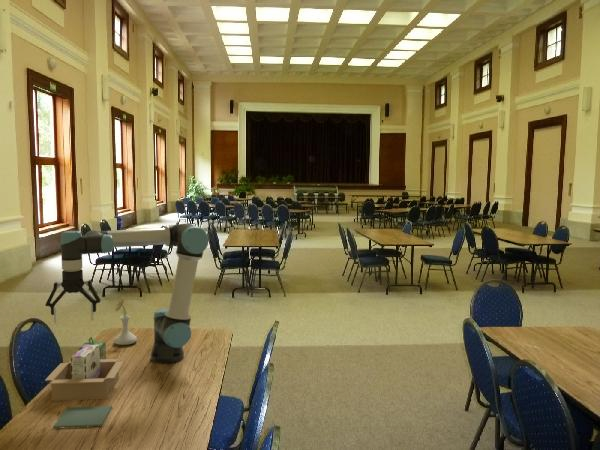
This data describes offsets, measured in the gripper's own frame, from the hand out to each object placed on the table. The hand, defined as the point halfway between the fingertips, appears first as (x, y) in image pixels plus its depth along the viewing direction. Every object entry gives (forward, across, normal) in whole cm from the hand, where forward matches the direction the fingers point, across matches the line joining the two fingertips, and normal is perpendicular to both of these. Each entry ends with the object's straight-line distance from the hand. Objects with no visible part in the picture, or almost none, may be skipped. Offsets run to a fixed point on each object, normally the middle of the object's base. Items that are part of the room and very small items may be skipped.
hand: (74, 321), depth 205 cm
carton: (+27, -4, +6) cm, 28 cm away
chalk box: (+27, -5, -14) cm, 31 cm away
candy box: (+27, -4, +6) cm, 28 cm away
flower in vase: (+27, -18, -46) cm, 57 cm away
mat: (+27, -6, +31) cm, 41 cm away
